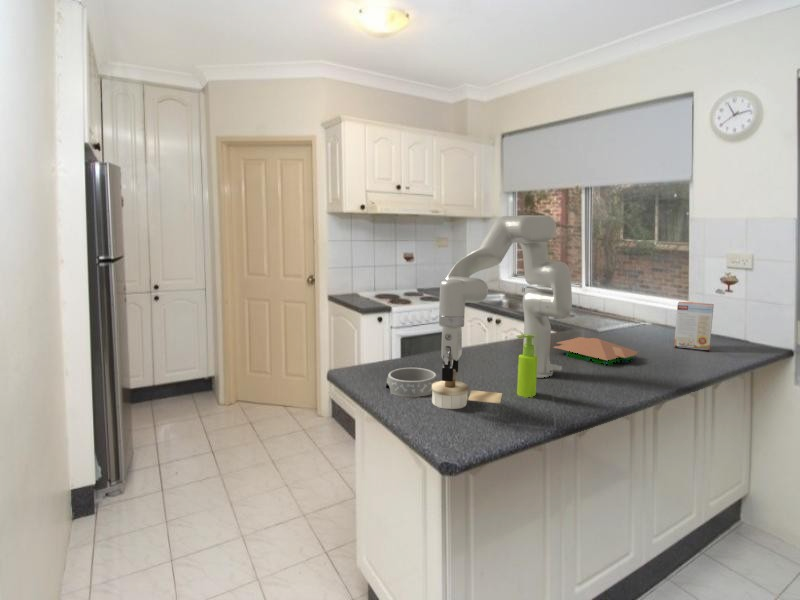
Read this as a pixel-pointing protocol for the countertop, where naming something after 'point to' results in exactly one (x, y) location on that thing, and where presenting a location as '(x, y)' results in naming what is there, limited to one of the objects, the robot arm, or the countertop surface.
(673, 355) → the countertop surface
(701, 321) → the cracker box
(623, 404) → the countertop surface
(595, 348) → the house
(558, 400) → the countertop surface
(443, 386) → the lid
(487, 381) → the countertop surface
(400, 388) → the dog bowl
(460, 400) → the bowl
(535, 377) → the soap dispenser
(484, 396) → the mat
